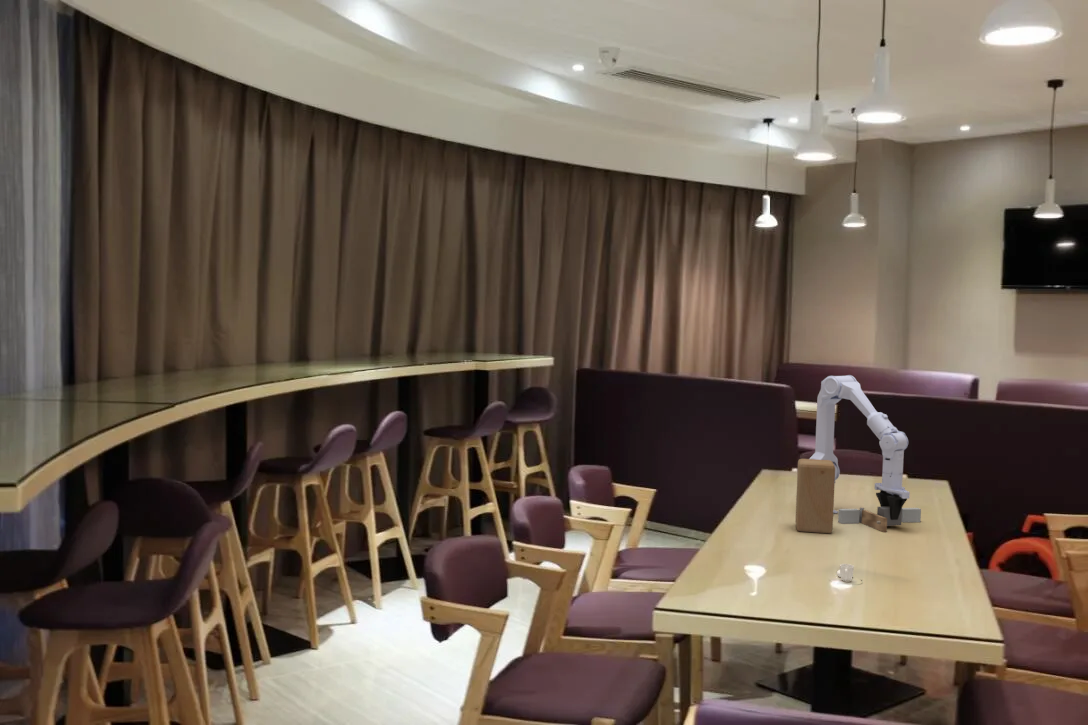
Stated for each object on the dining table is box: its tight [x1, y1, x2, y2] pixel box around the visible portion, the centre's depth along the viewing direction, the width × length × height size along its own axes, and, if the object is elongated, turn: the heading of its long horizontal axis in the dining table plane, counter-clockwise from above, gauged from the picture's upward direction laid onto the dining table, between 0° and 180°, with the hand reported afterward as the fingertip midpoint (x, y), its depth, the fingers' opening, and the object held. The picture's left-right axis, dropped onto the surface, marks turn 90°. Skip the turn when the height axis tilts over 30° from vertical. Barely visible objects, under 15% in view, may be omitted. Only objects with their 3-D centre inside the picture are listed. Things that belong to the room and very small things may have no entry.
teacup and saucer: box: [836, 563, 855, 582], centre depth 240 cm, size 9×8×4 cm
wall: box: [837, 507, 922, 525], centre depth 305 cm, size 26×2×4 cm, turn 100°
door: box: [861, 509, 888, 533], centre depth 297 cm, size 12×2×4 cm, turn 15°
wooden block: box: [794, 458, 836, 534], centre depth 292 cm, size 10×10×20 cm
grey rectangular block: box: [876, 506, 903, 527], centre depth 298 cm, size 6×4×5 cm, turn 105°
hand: (890, 518), depth 298 cm, fingers closed on grey rectangular block, 3 cm apart
